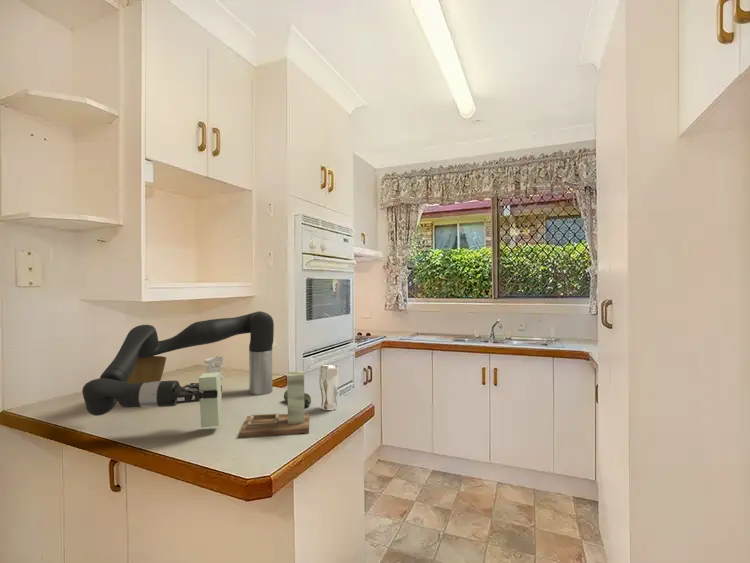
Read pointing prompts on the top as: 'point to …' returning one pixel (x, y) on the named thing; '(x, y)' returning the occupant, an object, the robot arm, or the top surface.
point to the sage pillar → (210, 400)
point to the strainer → (213, 369)
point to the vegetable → (306, 398)
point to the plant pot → (147, 369)
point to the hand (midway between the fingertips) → (219, 391)
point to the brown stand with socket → (281, 423)
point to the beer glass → (328, 386)
